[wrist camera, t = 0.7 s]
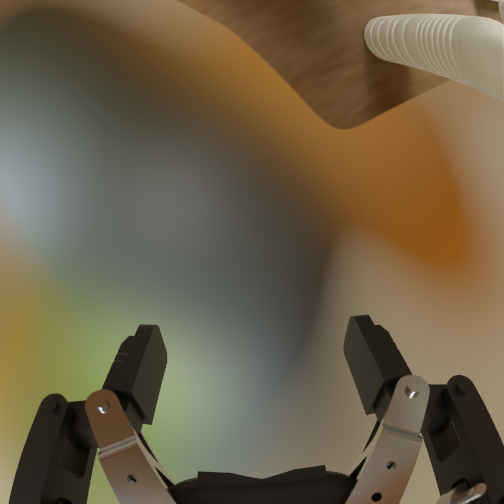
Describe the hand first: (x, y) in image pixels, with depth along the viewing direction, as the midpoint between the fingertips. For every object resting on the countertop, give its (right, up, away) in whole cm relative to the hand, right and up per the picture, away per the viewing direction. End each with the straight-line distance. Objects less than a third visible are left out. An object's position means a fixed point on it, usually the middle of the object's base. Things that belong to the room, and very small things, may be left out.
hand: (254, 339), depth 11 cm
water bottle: (+16, +31, +11) cm, 36 cm away
